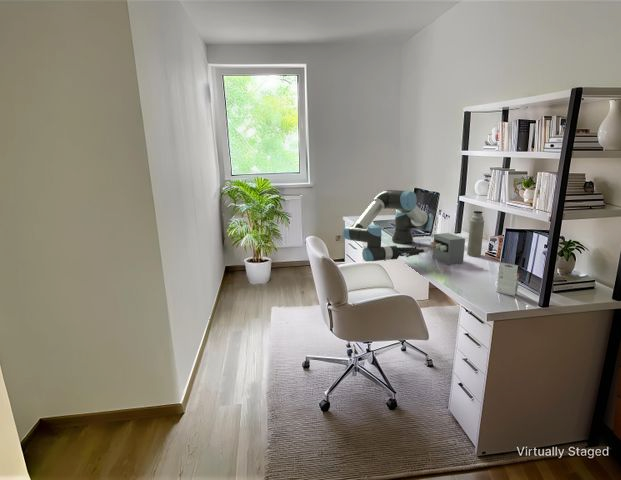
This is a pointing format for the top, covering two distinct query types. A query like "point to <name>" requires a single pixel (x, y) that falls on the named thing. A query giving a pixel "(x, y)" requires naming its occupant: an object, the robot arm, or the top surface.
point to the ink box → (507, 279)
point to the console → (449, 248)
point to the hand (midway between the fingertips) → (427, 249)
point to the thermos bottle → (475, 234)
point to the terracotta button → (434, 244)
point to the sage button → (443, 247)
